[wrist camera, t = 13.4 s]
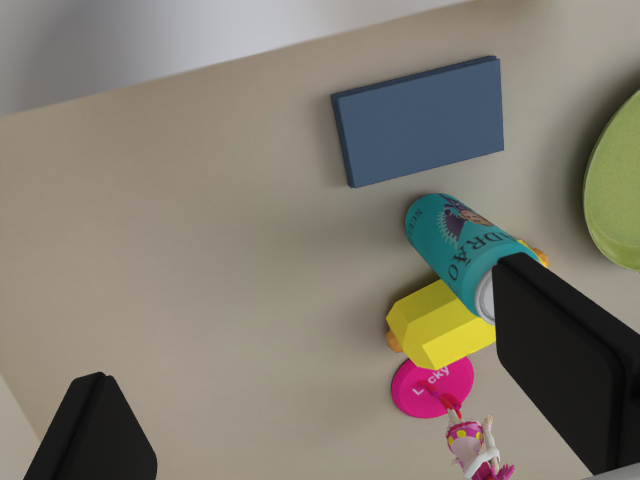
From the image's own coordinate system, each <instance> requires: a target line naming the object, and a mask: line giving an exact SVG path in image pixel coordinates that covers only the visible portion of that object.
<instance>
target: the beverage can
mask: <svg viewBox="0 0 640 480" xmlns="http://www.w3.org/2000/svg"><path fill="white" fill-rule="evenodd" d="M405 232H406V236H407V239H408V241H409V242H410V244H411V245H412V246H413V247H414V248H415V249H416V250H417V252H418V253H419V254H420V255H421V256H422V257H423V259H424V260H425V261H426V262H427V263H428V264H429V265H430V267H431V268H432V269H433V270H434V271H435V272H436V273H437V275H438V276H439V277H440V278H441V279H442V280H443V281H444V283H445V284H446V285H447V286H448V287H449V288H450V289H451V291H452V292H453V293H454V294H455V295H456V296H457V297H458V299H459V300H460V301H461V302H462V303H463V304H464V305H465V307H466V308H467V309H468V310H469V311H470V312H471V313H472V314H474V315H475V316H477V317H480V318H482V319H483V320H484V321H485V322H487V323H488V324H490V325H493V326H495V317H494V302H493V287H492V267H493V266H494V265H497V261H498V259H499V258H500V257H504V256H507V255H511V254H514V253H518V252H524V253H526V254H528V255H529V256H530V257H532V258H533V259H535V260H536V261H537V262H539V263H540V264H542V263H541V262H540V261H539V259H538V257H537V256H536V255H535V253H534V252H532V251H531V250H530V249H529V248H527V247H526V246H524V245H523V244H521V243H520V242H518V241H517V240H516V239H514V238H513V237H511V236H510V235H508V234H507V233H505V232H504V231H502V230H501V229H499V228H498V227H496V226H495V225H494V224H492V223H491V222H489V221H488V220H486V219H485V218H483V217H482V216H480V215H479V214H477V213H476V212H475V211H473V210H472V209H470V208H469V207H467V206H466V205H464V204H463V203H461V202H460V201H458V200H457V199H455V198H454V197H452V196H450V195H447V194H430V195H426V196H423V197H421V198H419V199H417V200H416V201H415V202H414V203H413V204H412V205H411V206H410V208H409V209H408V211H407V214H406V218H405ZM542 265H543V264H542ZM543 266H544V265H543ZM544 267H545V266H544Z"/></svg>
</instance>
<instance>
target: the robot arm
mask: <svg viewBox="0 0 640 480" xmlns="http://www.w3.org/2000/svg"><path fill="white" fill-rule="evenodd" d="M492 287H493V302H494V317H495V332H496V348H497V355H498V358H499V360H500V362H501V364H502V366H503V367H504V368H505V369H506V371H507V372H508V373H509V374H510V375H511V377H512V378H513V379H514V380H515V381H516V383H517V384H518V385H519V386H520V387H521V389H522V390H523V391H524V392H525V393H526V395H527V396H528V397H529V398H530V399H531V401H532V402H533V403H534V404H535V405H536V407H537V408H538V409H539V410H540V411H541V413H542V414H543V415H544V416H545V418H546V419H547V420H548V421H549V422H550V424H551V425H552V426H553V427H554V428H555V430H556V431H557V432H558V433H559V434H560V436H561V437H562V438H563V439H564V440H565V442H566V443H567V444H568V445H569V446H570V448H571V449H572V450H573V451H574V452H575V454H576V455H577V456H578V457H579V458H580V460H581V461H582V462H583V463H584V464H585V466H586V467H587V468H588V469H589V471H590V472H591V473H592V474H593V475H594V476H592V477H588V478H585V479H582V480H640V335H639V334H638V333H637V332H635V331H634V330H632V329H631V328H630V327H628V326H627V325H625V324H624V323H623V322H621V321H620V320H618V319H617V318H616V317H614V316H613V315H611V314H610V313H609V312H607V311H606V310H604V309H603V308H602V307H600V306H599V305H597V304H596V303H595V302H593V301H592V300H590V299H589V298H588V297H586V296H585V295H583V294H582V293H581V292H579V291H578V290H576V289H575V288H574V287H572V286H571V285H569V284H568V283H567V282H565V281H564V280H562V279H561V278H560V277H558V276H557V275H556V274H554V273H553V272H551V271H550V270H549V269H547V268H546V267H544V266H543V265H542V264H540V263H539V262H537V261H536V260H535V259H533V258H532V257H530V256H529V255H528V254H526V253H524V252H518V253H514V254H511V255H507V256H504V257H500V258H499V259H498V261H497V265H494V266H493V267H492ZM156 474H157V458H156V455H155V452H154V451H153V449H152V447H151V445H150V443H149V441H148V439H147V438H146V436H145V434H144V432H143V430H142V428H141V427H140V425H139V423H138V421H137V419H136V417H135V415H134V414H133V412H132V410H131V408H130V406H129V404H128V402H127V401H126V399H125V397H124V395H123V393H122V391H121V389H120V388H119V386H118V384H117V382H116V380H115V379H114V377H113V376H110V375H109V376H106V375H105V374H104V373H103V372H97V373H93V374H90V375H86V376H83V377H79V378H76V379H74V380H73V381H72V382H71V384H70V386H69V388H68V390H67V392H66V394H65V396H64V398H63V400H62V402H61V404H60V406H59V408H58V410H57V412H56V414H55V416H54V418H53V420H52V422H51V424H50V426H49V428H48V431H47V433H46V435H45V437H44V439H43V441H42V443H41V445H40V447H39V449H38V451H37V453H36V455H35V457H34V459H33V461H32V463H31V465H30V467H29V469H28V471H27V473H26V475H25V477H24V479H23V480H155V479H156Z"/></svg>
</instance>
